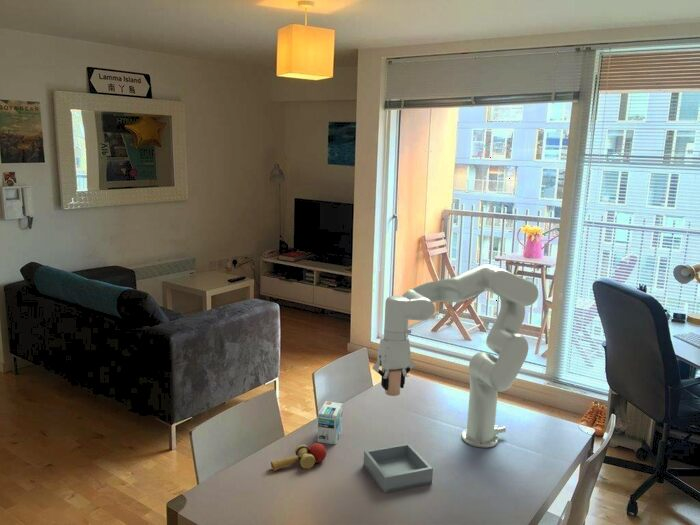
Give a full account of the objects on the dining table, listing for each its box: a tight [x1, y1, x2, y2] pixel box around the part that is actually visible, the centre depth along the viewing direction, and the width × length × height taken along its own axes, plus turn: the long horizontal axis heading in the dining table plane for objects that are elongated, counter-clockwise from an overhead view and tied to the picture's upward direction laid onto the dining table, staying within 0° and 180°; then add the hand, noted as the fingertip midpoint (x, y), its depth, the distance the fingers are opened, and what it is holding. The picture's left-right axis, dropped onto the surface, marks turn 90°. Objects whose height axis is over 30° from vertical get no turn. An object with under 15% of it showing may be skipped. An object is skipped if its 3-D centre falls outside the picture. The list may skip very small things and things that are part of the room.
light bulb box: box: [317, 400, 344, 445], centre depth 199 cm, size 11×7×11 cm, turn 168°
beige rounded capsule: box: [384, 369, 401, 397], centre depth 185 cm, size 5×5×8 cm
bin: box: [363, 443, 434, 494], centre depth 177 cm, size 16×16×5 cm
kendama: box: [270, 442, 327, 472], centre depth 181 cm, size 8×6×18 cm
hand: (392, 387), depth 186 cm, fingers closed on beige rounded capsule, 5 cm apart
